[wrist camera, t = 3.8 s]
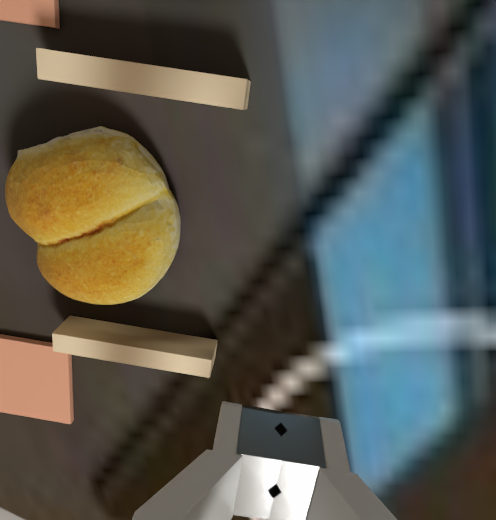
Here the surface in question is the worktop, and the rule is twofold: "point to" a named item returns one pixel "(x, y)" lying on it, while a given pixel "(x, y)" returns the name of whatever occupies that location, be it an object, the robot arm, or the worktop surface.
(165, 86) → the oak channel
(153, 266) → the bread roll
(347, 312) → the worktop surface
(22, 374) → the trap pads
